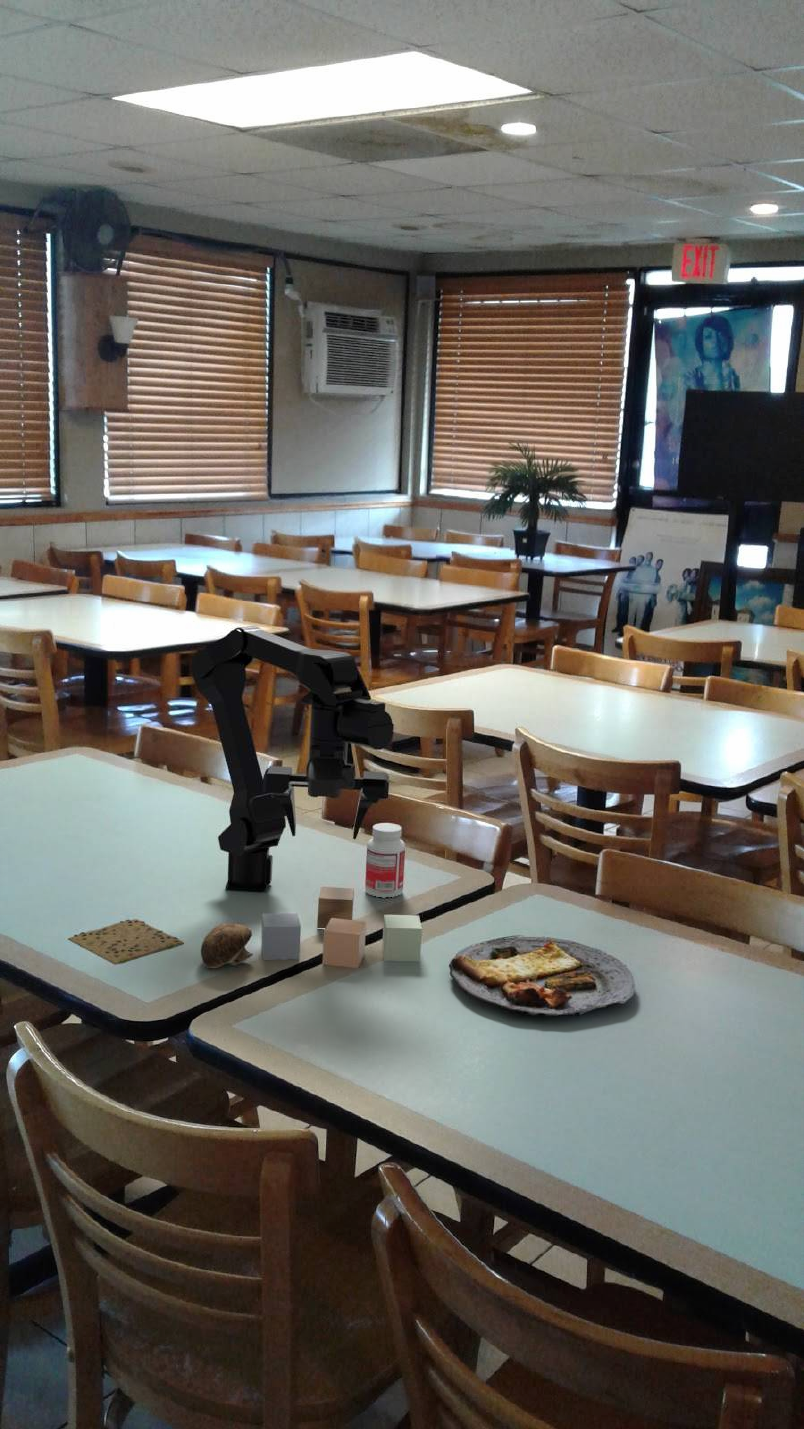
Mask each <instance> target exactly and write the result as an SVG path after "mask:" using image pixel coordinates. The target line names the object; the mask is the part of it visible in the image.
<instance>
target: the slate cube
mask: <svg viewBox="0 0 804 1429" xmlns="http://www.w3.org/2000/svg"><path fill="white" fill-rule="evenodd" d="M261 921H262V922H261V942H260V943H261V953H263V954H262V959H263V960H262V961H275V960H274V959H301V958H300V954H301V934H302V933H301V932H302V931H301V930H302V926H301V922H300V921H301V920H300V917H299V914H298V912H296V913H295V912H291V913H290V912H289V913H288V912H287V913H286V912H283V913H280V912H278V913H270V912H269V913H262V918H261ZM271 959H272V960H271Z"/></svg>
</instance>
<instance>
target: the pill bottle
mask: <svg viewBox="0 0 804 1429" xmlns="http://www.w3.org/2000/svg"><path fill="white" fill-rule="evenodd" d="M402 828H403V827H402V826H401V825H400V824H397V823H396V824H395V823H392V822H391V823H390V822H381V823H380V822H379V823H376V824H374V825H373V826H372V834H371V835H372V837H371V838H370V839H369V840H368V842H367V844H366V859H365V861H366V862H365V881H364V882H365V884H364V890H365V892H366V894H367V895H370V896H371V895H372V896H371V897H374V896H376V897H375V898H378V897H382V898H381V899H387V898H386V897H389V898H388V899H391V898H390V897H392V898H396V897H398V895H399V896H400V895H402V894H403V891H404V877H405V858H406V845H405V842H404V841H403V840H402V839H401V838H402V834H403V833H402V830H403V829H402ZM395 896H396V897H395Z"/></svg>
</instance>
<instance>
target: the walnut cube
mask: <svg viewBox="0 0 804 1429" xmlns="http://www.w3.org/2000/svg"><path fill="white" fill-rule="evenodd" d="M354 894H355V888H353V887H350V888H349V887H335V886H334V887H333V886H320V890H319V894H318V901H317V902H318V905H317V906H318V907H317V921H316V922H317V923H316V924H317V926H316V929H317V928H326V926H327V925H328V923H329V921H330V919H331V918H337V919H346V920H353V916H354V914H353V913H354V912H353V911H354Z"/></svg>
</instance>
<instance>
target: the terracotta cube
mask: <svg viewBox="0 0 804 1429" xmlns="http://www.w3.org/2000/svg"><path fill="white" fill-rule="evenodd" d="M366 927H367V921H363V920H353V919H352V920H346V919H337V918H331V919H330V921H329V923H328V925H327V926H326V928H325V930H323V945H322V963H321V964H322V965H327V966H335V967H344V968H352V969H358V968H359V967H360V965H361V962H362V960H363V959H364V956H365V950H366V930H367V928H366Z"/></svg>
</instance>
